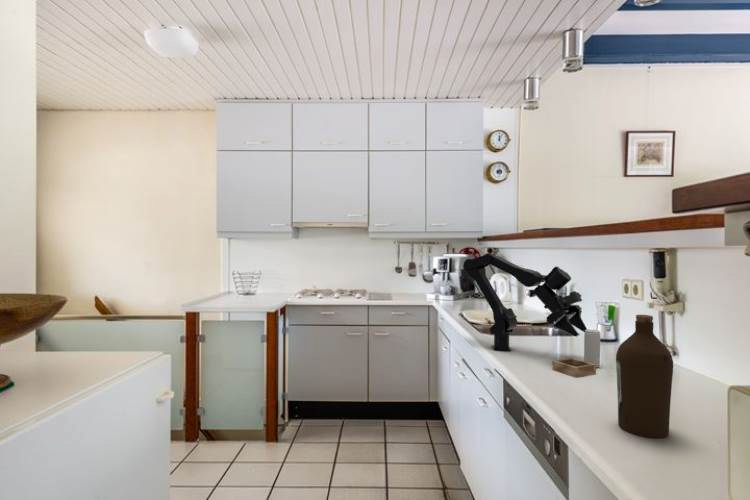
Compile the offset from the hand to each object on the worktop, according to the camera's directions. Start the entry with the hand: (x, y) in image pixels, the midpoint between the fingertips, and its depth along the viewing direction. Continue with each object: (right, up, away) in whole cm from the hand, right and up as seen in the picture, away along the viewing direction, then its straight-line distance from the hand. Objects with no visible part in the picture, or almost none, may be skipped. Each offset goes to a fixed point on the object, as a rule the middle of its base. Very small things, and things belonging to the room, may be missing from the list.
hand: (582, 333), depth 144 cm
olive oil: (-12, -11, -52) cm, 54 cm away
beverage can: (+2, -11, -2) cm, 11 cm away
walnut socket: (-7, -10, -9) cm, 15 cm away
